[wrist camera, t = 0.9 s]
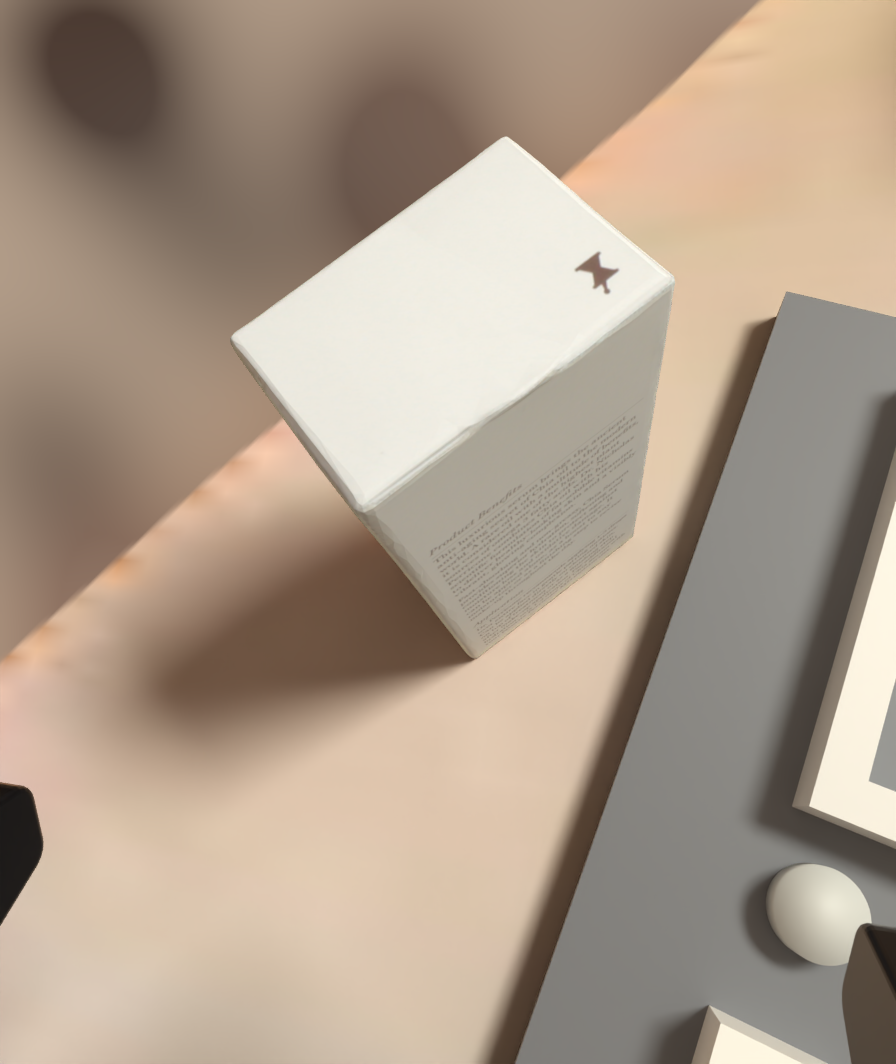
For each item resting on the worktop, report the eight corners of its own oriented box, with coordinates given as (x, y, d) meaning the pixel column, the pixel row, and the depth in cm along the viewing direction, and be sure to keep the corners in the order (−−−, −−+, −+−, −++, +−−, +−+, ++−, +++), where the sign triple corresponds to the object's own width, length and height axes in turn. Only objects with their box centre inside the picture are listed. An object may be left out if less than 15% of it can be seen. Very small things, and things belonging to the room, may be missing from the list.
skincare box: (543, 438, 24) (513, 119, 13) (636, 538, 23) (693, 275, 11) (386, 557, 24) (216, 331, 12) (470, 667, 22) (361, 524, 11)
